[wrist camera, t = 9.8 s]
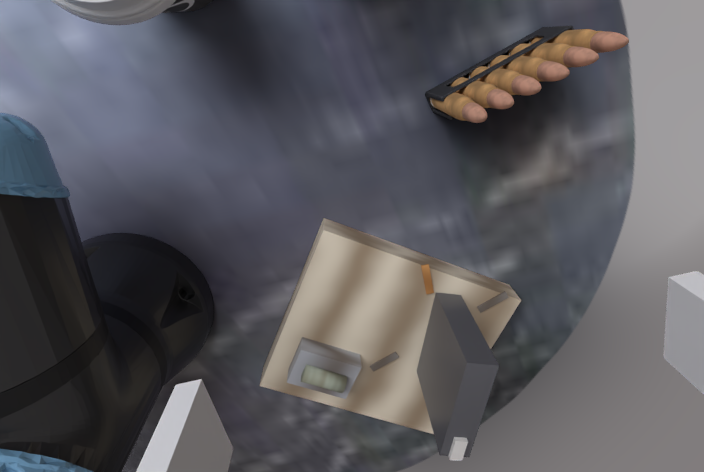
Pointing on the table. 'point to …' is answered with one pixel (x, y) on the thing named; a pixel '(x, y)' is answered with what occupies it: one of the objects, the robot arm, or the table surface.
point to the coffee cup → (126, 9)
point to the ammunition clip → (519, 71)
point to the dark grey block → (455, 375)
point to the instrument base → (371, 324)
